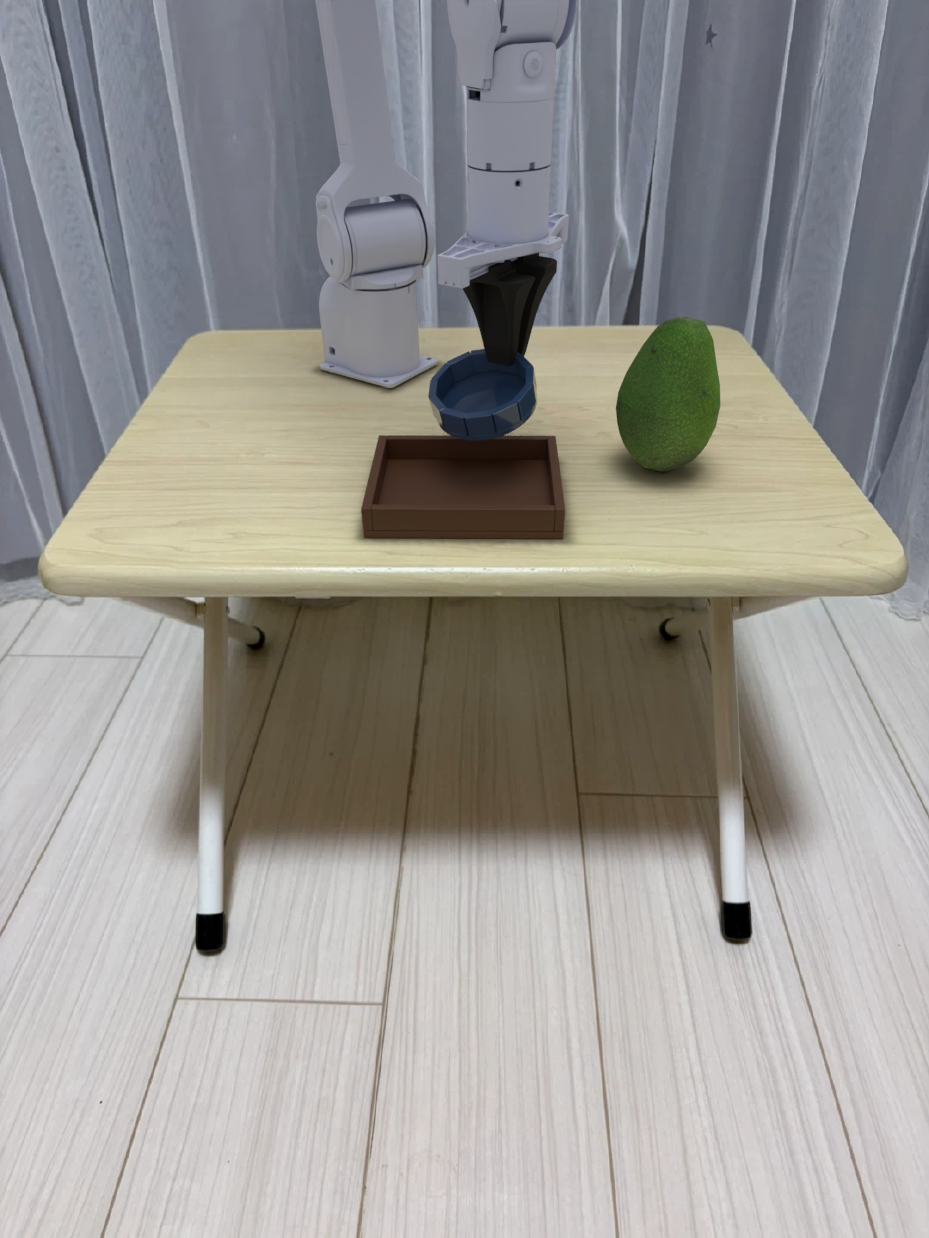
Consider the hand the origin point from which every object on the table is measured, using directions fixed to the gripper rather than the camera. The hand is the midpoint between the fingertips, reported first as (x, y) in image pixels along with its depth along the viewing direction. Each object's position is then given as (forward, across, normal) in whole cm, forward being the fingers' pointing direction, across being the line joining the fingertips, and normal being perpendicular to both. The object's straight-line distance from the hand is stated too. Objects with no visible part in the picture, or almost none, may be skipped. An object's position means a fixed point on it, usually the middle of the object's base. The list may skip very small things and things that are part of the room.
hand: (505, 360), depth 67 cm
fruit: (+9, +6, -11) cm, 15 cm away
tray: (+8, -7, -1) cm, 11 cm away
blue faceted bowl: (+3, -3, 0) cm, 4 cm away
